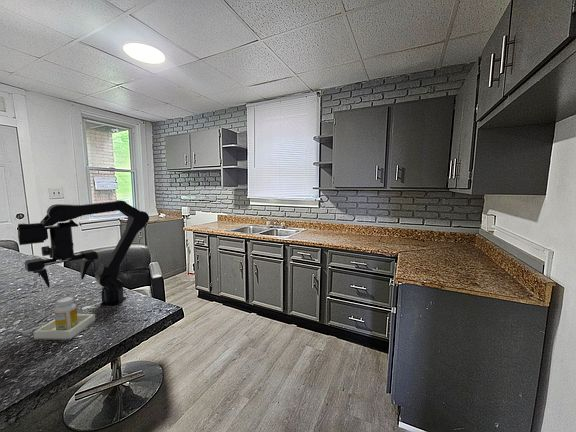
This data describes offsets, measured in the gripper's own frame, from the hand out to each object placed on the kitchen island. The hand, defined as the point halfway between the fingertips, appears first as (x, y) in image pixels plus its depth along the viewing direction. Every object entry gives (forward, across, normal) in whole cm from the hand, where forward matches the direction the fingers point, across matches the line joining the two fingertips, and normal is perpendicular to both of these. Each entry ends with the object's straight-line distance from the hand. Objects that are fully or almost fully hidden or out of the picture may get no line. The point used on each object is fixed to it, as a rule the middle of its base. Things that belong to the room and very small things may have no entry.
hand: (66, 283), depth 90 cm
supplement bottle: (+12, +3, +12) cm, 17 cm away
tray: (+12, +3, +12) cm, 17 cm away
